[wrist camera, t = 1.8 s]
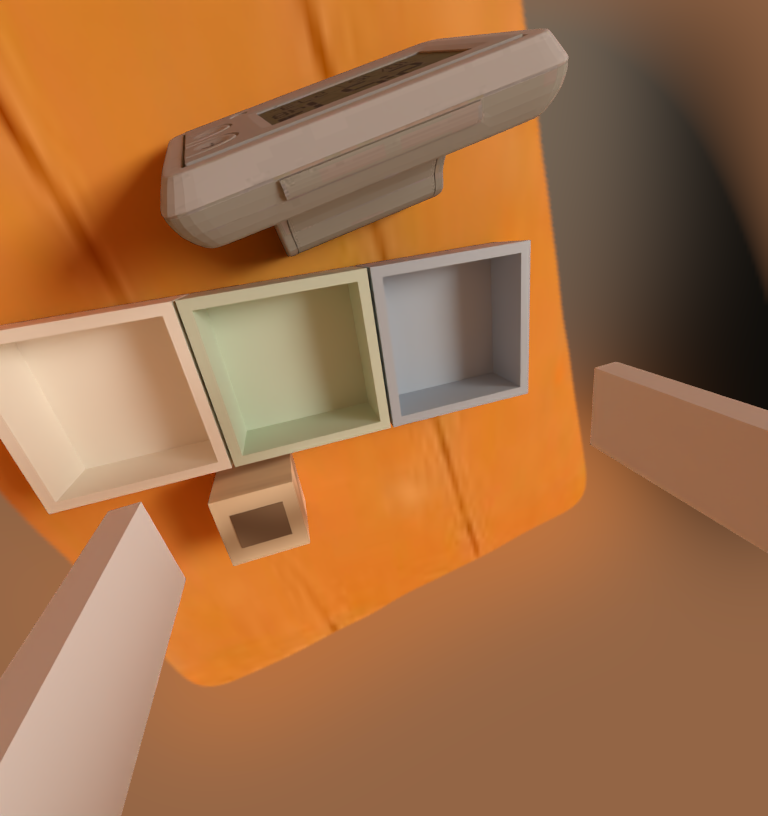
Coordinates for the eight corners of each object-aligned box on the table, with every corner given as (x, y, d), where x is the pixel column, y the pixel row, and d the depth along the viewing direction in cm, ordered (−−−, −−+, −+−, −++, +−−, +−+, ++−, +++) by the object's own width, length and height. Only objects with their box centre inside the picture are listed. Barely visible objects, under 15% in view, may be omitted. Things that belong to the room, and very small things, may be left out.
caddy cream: (-1, 325, 20) (-63, 341, 17) (188, 293, 22) (170, 301, 18) (83, 474, 24) (48, 514, 21) (238, 437, 26) (231, 468, 22)
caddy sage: (192, 293, 22) (174, 300, 19) (352, 266, 24) (366, 268, 20) (241, 436, 26) (235, 467, 23) (375, 404, 28) (390, 427, 24)
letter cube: (219, 462, 27) (207, 504, 22) (289, 445, 28) (292, 482, 23) (240, 518, 29) (233, 567, 24) (305, 500, 30) (310, 544, 25)
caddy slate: (355, 265, 24) (370, 267, 20) (493, 242, 26) (530, 240, 22) (378, 403, 28) (393, 427, 24) (496, 375, 30) (527, 393, 26)
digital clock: (448, 50, 21) (588, -116, 12) (460, 225, 25) (574, 207, 15) (144, 78, 18) (3, -109, 9) (208, 270, 22) (158, 282, 13)
